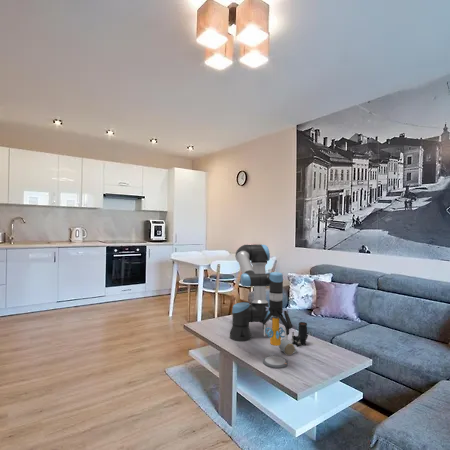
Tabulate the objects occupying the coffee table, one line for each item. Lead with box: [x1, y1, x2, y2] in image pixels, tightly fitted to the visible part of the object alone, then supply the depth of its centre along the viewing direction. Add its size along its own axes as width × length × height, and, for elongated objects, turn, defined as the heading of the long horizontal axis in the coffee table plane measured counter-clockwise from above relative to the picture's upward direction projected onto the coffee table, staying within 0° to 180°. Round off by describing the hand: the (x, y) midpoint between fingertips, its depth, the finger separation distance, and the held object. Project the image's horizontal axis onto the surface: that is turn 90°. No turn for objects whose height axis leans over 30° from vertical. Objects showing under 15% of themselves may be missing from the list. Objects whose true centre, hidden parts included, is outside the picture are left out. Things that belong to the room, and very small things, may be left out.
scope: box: [290, 321, 309, 348], centre depth 201 cm, size 8×14×10 cm
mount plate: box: [262, 354, 289, 369], centre depth 173 cm, size 14×14×1 cm
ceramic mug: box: [278, 338, 298, 356], centre depth 187 cm, size 11×8×8 cm
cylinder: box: [265, 316, 285, 347], centre depth 173 cm, size 12×10×15 cm
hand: (275, 337), depth 173 cm, fingers closed on cylinder, 12 cm apart
